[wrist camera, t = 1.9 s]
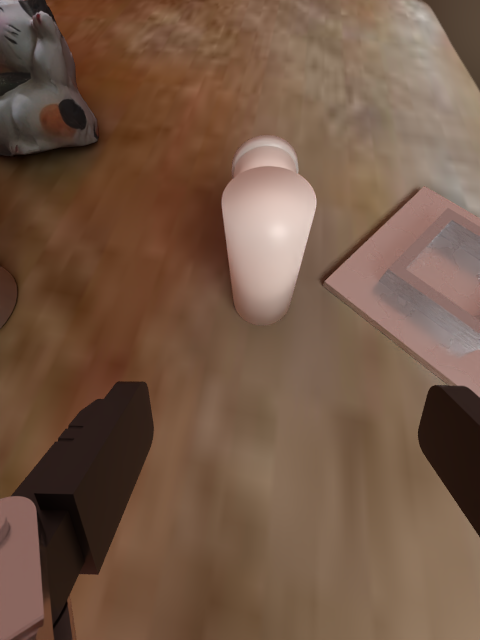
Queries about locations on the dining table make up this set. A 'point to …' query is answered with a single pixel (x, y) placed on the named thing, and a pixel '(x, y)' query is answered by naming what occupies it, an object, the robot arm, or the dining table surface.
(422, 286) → the plate
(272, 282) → the elbow
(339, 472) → the dining table surface
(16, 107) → the lucky cat figurine
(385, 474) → the dining table surface
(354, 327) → the dining table surface
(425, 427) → the robot arm
